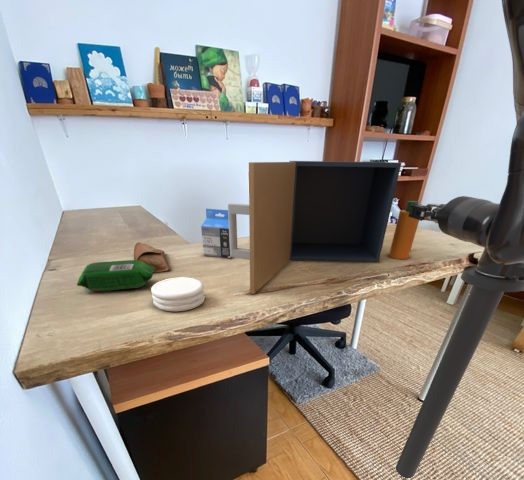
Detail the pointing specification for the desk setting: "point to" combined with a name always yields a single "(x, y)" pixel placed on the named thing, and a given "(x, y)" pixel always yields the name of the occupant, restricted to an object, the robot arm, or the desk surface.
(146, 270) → the snack package
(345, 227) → the box
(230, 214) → the fridge door
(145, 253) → the sunglasses case
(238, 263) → the desk surface
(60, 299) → the desk surface
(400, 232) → the juice bottle
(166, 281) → the coaster
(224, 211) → the tape cartridge
